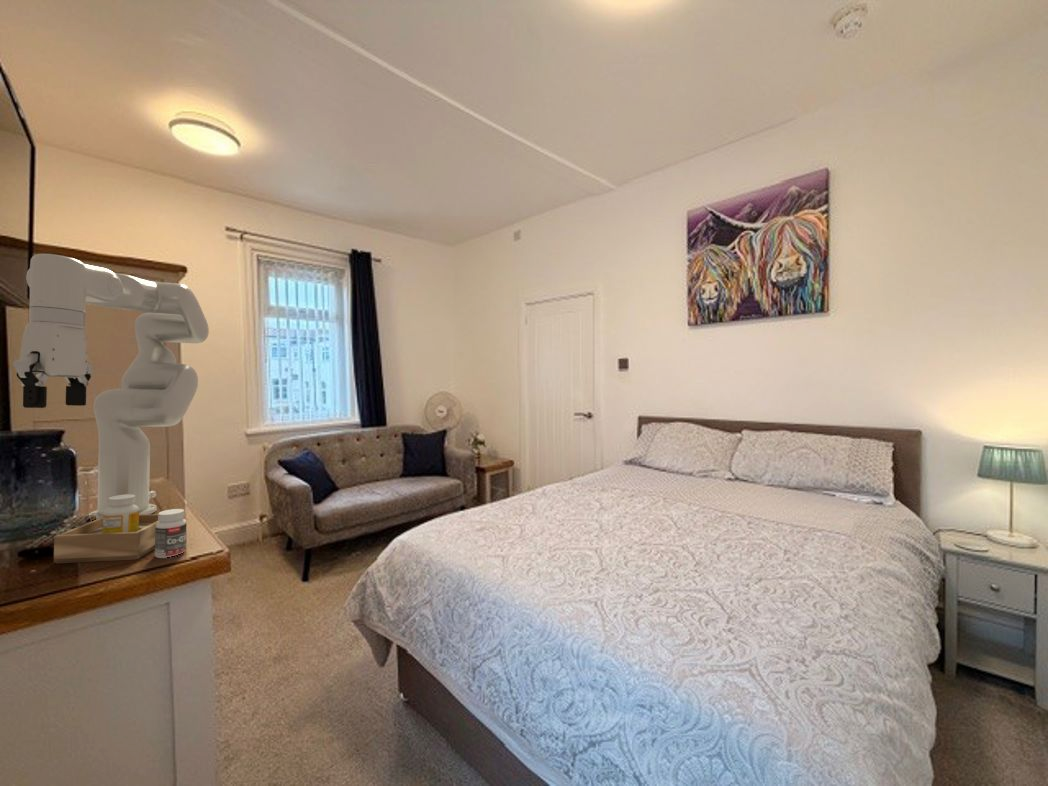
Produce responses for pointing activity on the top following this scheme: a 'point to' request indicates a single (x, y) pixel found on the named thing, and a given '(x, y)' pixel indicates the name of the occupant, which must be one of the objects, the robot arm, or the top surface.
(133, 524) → the supplement bottle
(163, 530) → the pill bottle
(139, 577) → the top surface
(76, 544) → the oak box
